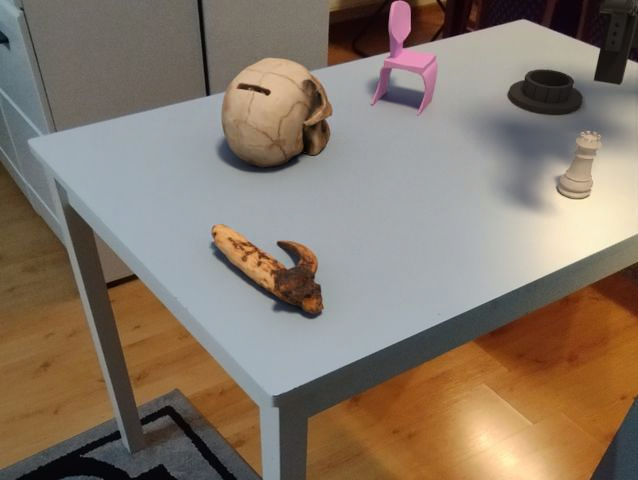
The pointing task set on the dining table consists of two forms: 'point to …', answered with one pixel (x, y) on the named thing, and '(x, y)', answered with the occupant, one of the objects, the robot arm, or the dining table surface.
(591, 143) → the rook chess piece
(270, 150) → the coin bank
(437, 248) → the dining table surface
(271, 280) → the lashed bone hook
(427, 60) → the toy chair
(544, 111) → the socket pad
